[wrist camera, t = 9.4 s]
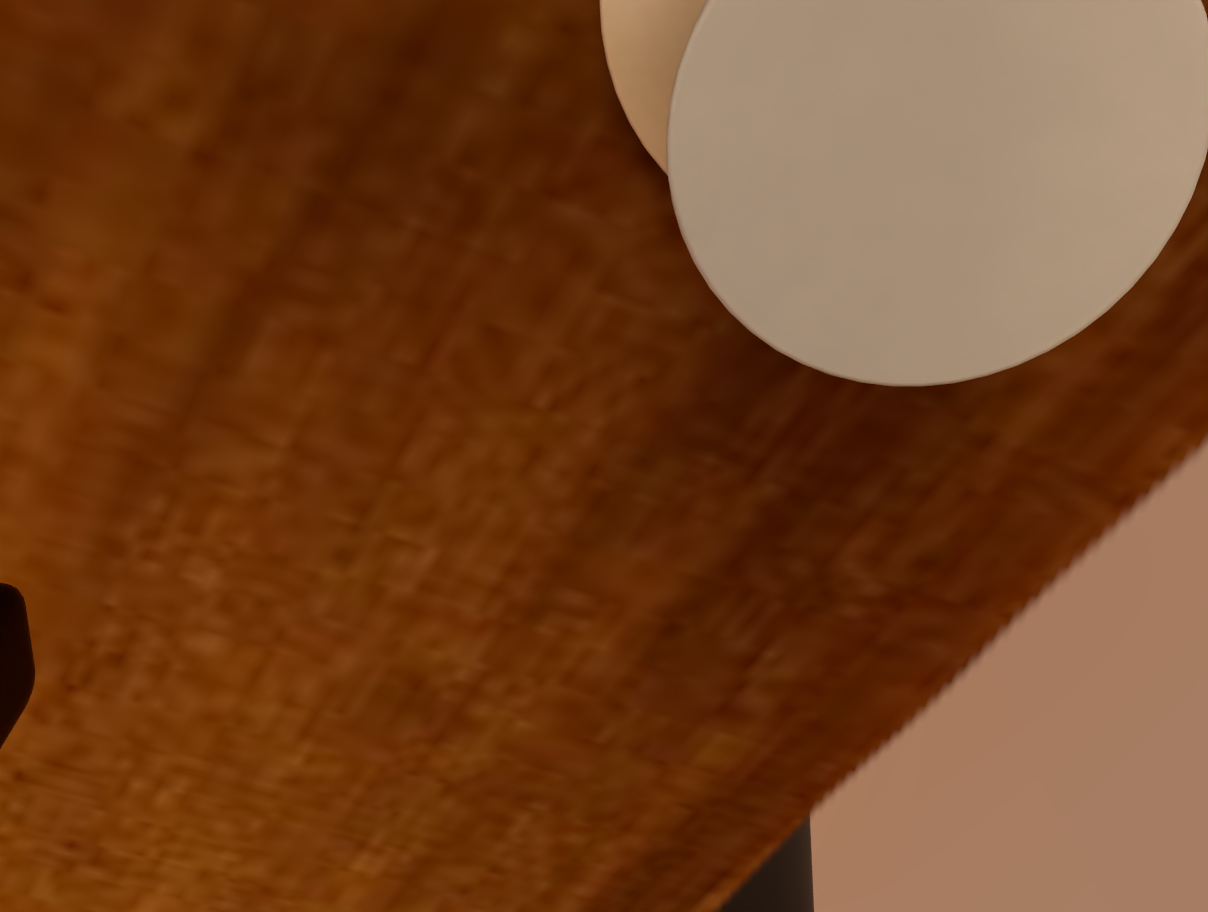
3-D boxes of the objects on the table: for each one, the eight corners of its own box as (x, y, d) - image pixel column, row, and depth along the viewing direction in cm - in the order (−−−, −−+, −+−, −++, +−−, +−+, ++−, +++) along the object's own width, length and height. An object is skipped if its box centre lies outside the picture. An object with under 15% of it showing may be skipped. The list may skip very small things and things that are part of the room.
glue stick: (932, 146, 16) (1096, 428, 8) (697, 105, 16) (629, 341, 8) (1010, -122, 14) (1325, -103, 6) (746, -164, 14) (719, -200, 6)
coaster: (1186, -252, 13) (1203, -256, 13) (1005, 269, 17) (1012, 281, 16) (644, -335, 14) (639, -343, 13) (576, 191, 17) (570, 202, 17)
